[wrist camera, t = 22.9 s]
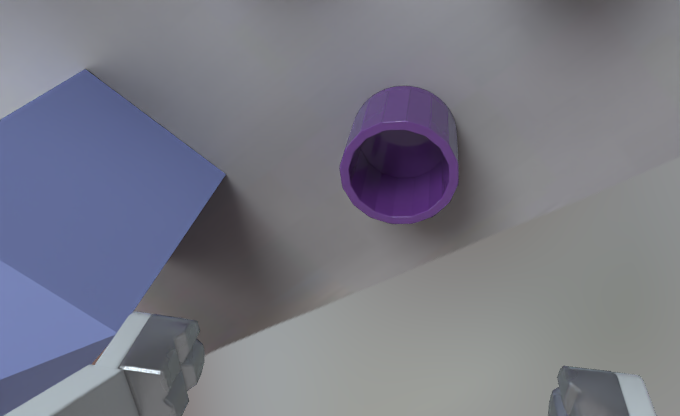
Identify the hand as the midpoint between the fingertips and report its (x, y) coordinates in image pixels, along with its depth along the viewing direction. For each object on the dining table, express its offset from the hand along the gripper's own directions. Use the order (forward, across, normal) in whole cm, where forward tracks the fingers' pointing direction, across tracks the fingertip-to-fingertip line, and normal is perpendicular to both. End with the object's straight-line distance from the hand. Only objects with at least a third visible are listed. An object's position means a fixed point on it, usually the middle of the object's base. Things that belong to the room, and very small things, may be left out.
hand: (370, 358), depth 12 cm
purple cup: (+21, 0, +5) cm, 22 cm away
